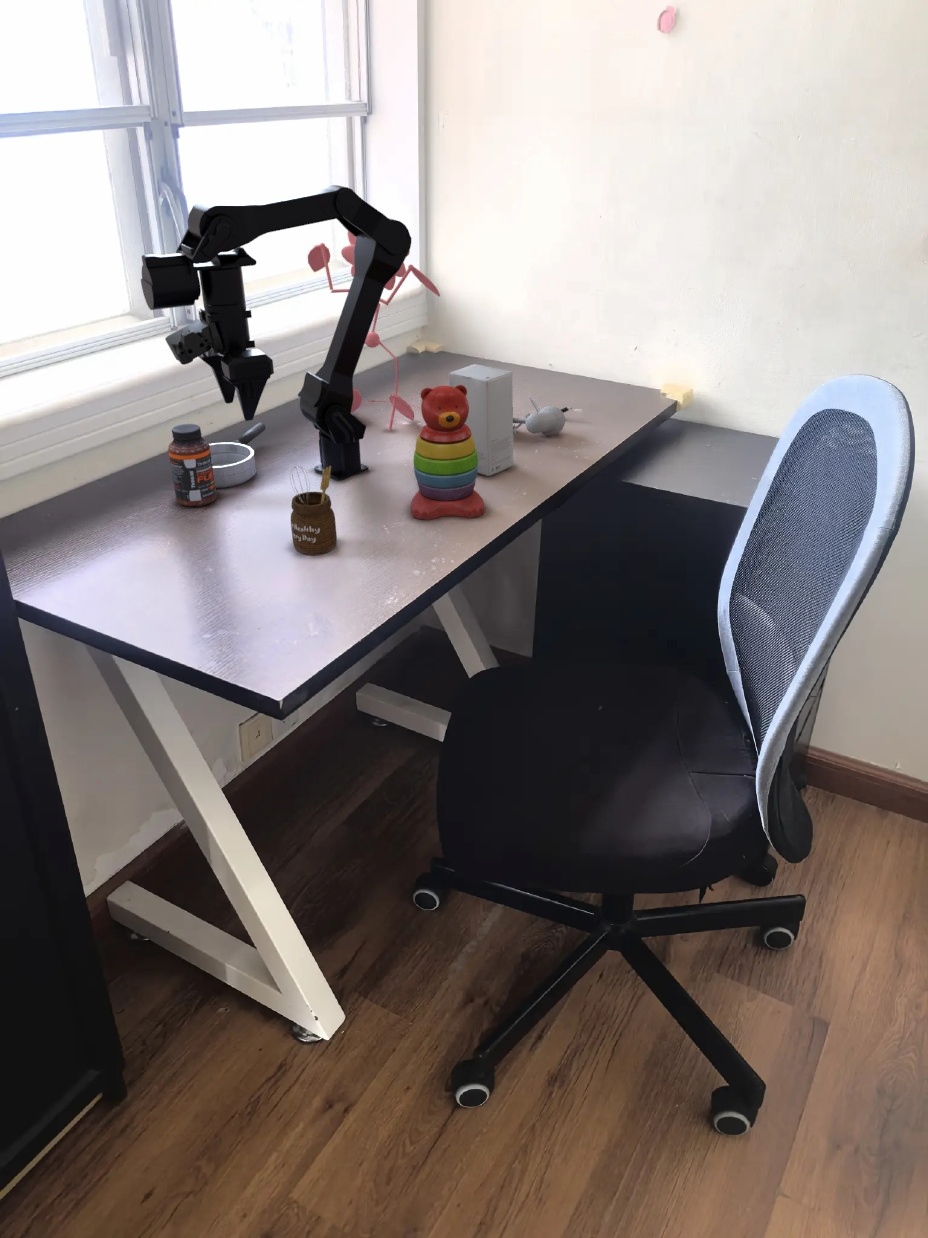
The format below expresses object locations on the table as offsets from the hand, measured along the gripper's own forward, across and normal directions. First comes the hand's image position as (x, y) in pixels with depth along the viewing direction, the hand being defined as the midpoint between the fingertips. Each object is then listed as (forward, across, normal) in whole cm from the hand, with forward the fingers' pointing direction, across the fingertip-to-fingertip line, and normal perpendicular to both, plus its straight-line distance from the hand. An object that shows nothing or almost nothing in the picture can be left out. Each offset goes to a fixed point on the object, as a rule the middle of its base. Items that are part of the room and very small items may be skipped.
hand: (238, 411), depth 136 cm
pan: (+12, -8, -2) cm, 15 cm away
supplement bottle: (+13, 0, -8) cm, 15 cm away
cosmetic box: (+13, +10, +36) cm, 39 cm away
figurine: (+13, -21, +34) cm, 41 cm away
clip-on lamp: (+13, 0, +53) cm, 54 cm away
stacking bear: (+13, +20, +24) cm, 34 cm away
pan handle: (+10, -16, +6) cm, 20 cm away
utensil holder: (+13, +24, +2) cm, 27 cm away
